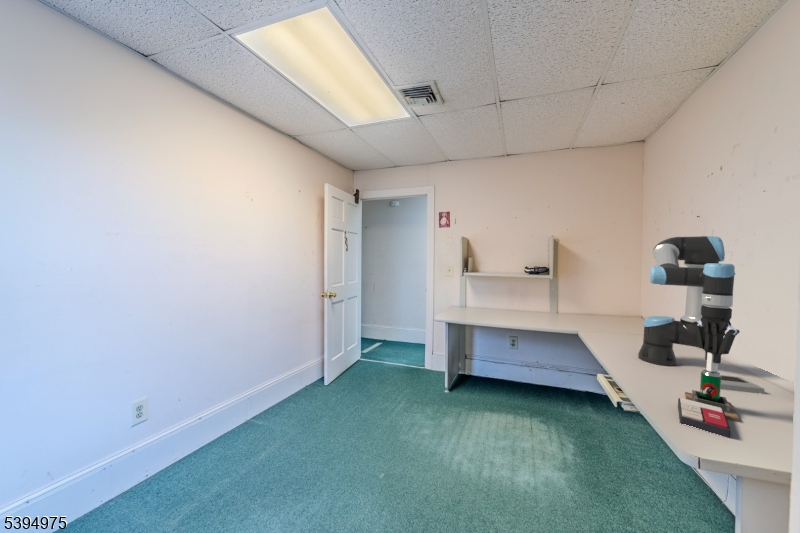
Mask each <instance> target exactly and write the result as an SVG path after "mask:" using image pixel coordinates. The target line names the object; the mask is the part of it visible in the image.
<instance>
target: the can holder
mask: <svg viewBox="0 0 800 533" xmlns="http://www.w3.org/2000/svg"><path fill="white" fill-rule="evenodd" d="M684 396H685V399H687V400H691V401H695V402H699V403H703V404H708V405H712V406H716V407H720V408H721V409H723V411H724V413H725V416H726V419H727V420H731V421H733V422H737V423H740V417H739V416H738V414H737V412H736V410H735V408H734V407H733V404H732V403H731V402H730V401H728V400H727V397H726V396H721V395H720V403H717V402H712V401H708V400H704V399H700V390H698V391H697V390H694V389H692V390H691V392H687V391H685V392H684Z"/></svg>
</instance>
